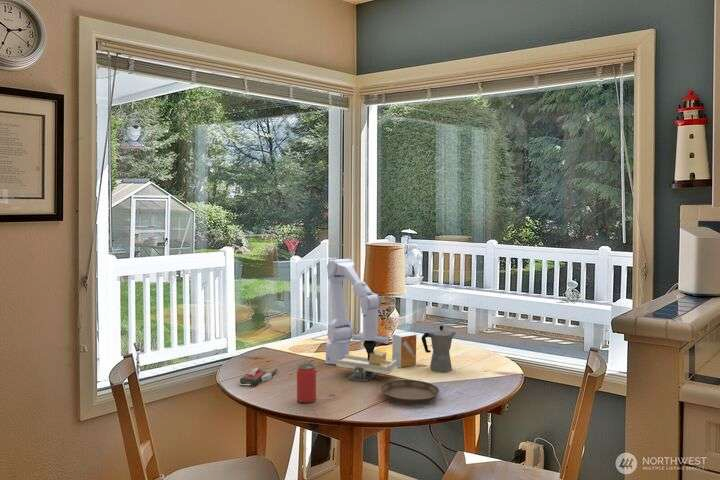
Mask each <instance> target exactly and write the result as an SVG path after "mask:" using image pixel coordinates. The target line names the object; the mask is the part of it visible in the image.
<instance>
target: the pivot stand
mask: <svg viewBox="0 0 720 480" xmlns="http://www.w3.org/2000/svg"><path fill="white" fill-rule="evenodd" d="M378 374H379V373H377V372H371V371H364V370H363V368H359V367H355V369H354V372H353V373H351V374H350V375H348V376H347V381H355V382H362V383H363V382H364V383H368V382H369V381H370V380H371V379H373V378H374V377H376V375H378Z"/></svg>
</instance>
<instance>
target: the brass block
mask: <svg viewBox="0 0 720 480" xmlns="http://www.w3.org/2000/svg"><path fill="white" fill-rule="evenodd" d="M386 359H387V352H386V351H385V352H384V351H381V350H376V349H374V350H373V351H372V352H371V353H370V358H369V364H371V365H377V366H384V365H385V361H386Z"/></svg>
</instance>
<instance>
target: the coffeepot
mask: <svg viewBox="0 0 720 480" xmlns="http://www.w3.org/2000/svg"><path fill="white" fill-rule="evenodd" d="M456 334H457V333H456V332H455V331H450V330H445V329H444V325H440V326H439V329H436V330H432V331H430V332H429V331H428V332H424V333H423V334H422V336H421V342H422V345H423V348H424V351H425V353H431V352H432V354H431V360H430V365H429V368H430V369H429V370H431V371H432V372H435V373H449V372H451V371H452V370H453V369H452V362H451V361H452V360H451V356H450V355H451V353H450V350H451V346H452V340H453V338H454V337H455V335H456ZM427 338H431V339H430V340H431V341H430V342H431V347H432V351H431V350H430V349H429V347H428V344H427V343H428V342H427Z"/></svg>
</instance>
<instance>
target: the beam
mask: <svg viewBox="0 0 720 480" xmlns="http://www.w3.org/2000/svg"><path fill="white" fill-rule="evenodd" d="M335 365H336V367H340V368H347V369H354V370H355V367H359V368H363V370H364V371H371V372H377V373H378V374H384V375H391V374H392V373H393V372H394V371H395V370H396V369H397V368H398V366H397V360H394V361H392V360H386V361H385V365H384V366H377V365H371V364H369V360H368V357H365V356H359V355H351V354H349V355H345V358H344V359H342V360H337V363H336V364H335Z"/></svg>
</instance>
